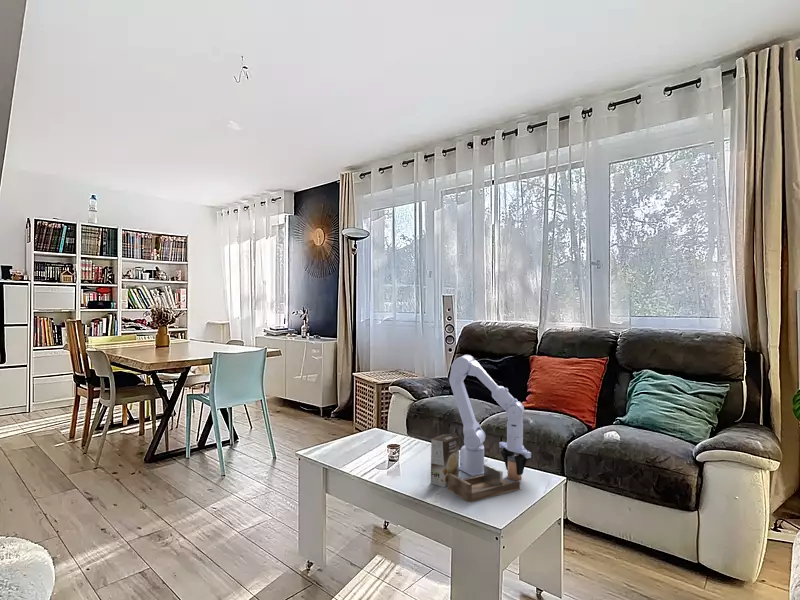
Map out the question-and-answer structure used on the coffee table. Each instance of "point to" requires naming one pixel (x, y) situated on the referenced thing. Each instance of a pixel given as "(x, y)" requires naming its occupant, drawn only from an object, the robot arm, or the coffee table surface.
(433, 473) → the coffee box
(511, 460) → the jar
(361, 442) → the coffee table surface
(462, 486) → the pusher lane
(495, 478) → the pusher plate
